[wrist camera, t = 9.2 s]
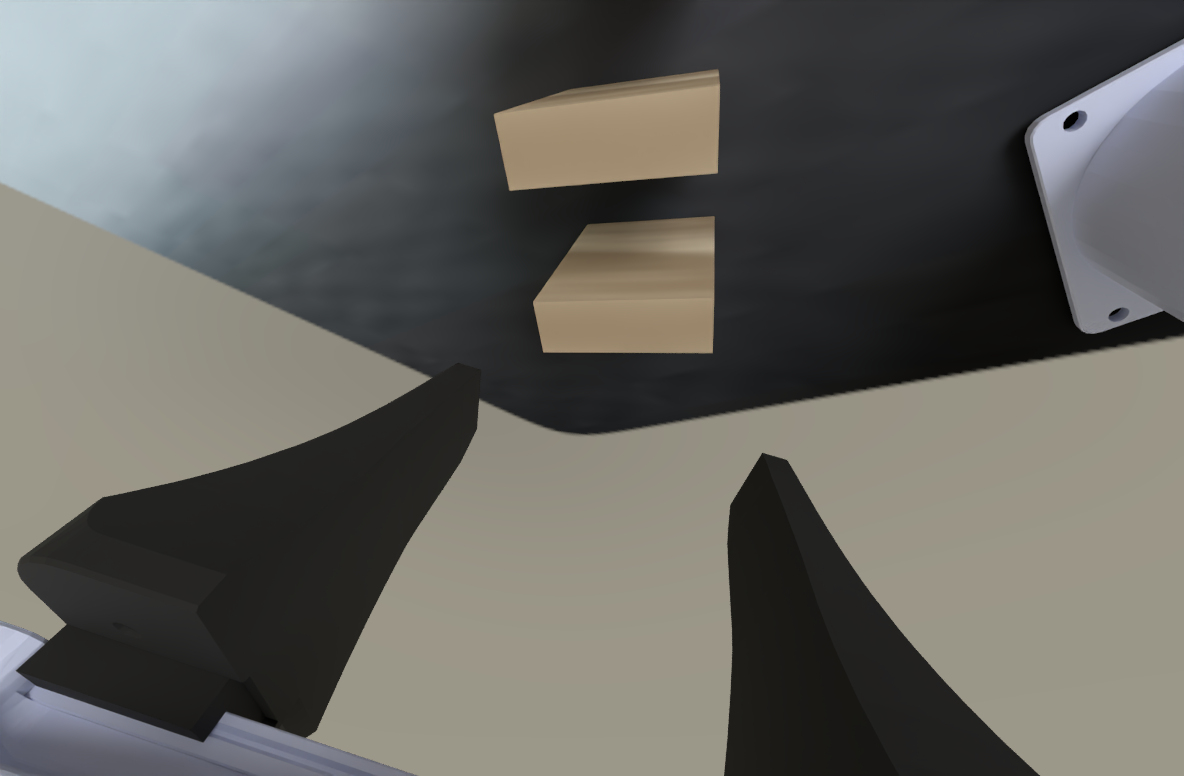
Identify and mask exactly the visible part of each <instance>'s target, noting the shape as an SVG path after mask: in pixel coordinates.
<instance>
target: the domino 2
mask: <svg viewBox="0 0 1184 776" xmlns="http://www.w3.org/2000/svg"><path fill="white" fill-rule="evenodd" d="M533 305H534V309H535V314H536V319H537V324H538V329H539V333H540V338H541V343H542V348H543V352H580V353H713V321H714V216H712V217H696V218H680V219H664V220H648V221H632V222H617V223H601V224H587V226H586V227H585V229H584V230H583V232H582V233H581V234H580V236H579V237H578V239H577V240H576V242H575V243H574V244H573V246H572V247H571V249H570V250H569V252H568V253H567V254H566V256H565V257H564V259H563V260H562V262H561V263H560V264H559V266H558V267H557V269H556V270H555V272H554V273H553V274H552V276H551V277H550V279H549V280H548V281H547V283H546V284H545V286H544V287H543V289H542V290H541V291H540V293H539V294H538V296H537V297H536V299H535V300H534V301H533Z"/></svg>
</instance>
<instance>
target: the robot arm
mask: <svg viewBox="0 0 1184 776" xmlns="http://www.w3.org/2000/svg"><path fill="white" fill-rule="evenodd" d="M1076 111H1078V113H1079V116H1078V119H1077V121H1076V122H1075V124H1074V125H1072V126H1071V127H1070V128H1068V129H1065V130H1064V129H1063V122H1064V121H1065V119H1066V118H1067V117H1068V116H1069V115H1070V114H1072V113H1073V112H1076ZM1025 145H1026V148H1027V152H1028V156H1029V159H1030V163H1031V167H1032V170H1033V174H1034V178H1035V181H1036V185H1037V189H1038V192H1039V196H1040V199H1041V203H1042V207H1043V210H1044V214H1045V218H1046V221H1047V225H1048V229H1049V232H1050V236H1051V240H1052V243H1053V247H1054V251H1055V254H1056V258H1057V262H1058V265H1059V269H1060V272H1061V276H1062V280H1063V283H1064V287H1065V291H1066V294H1067V298H1068V302H1069V305H1070V309H1071V313H1072V316H1073V320H1074V323H1075V325H1076V326H1077V327H1078V328H1079V329H1080V330H1081V331H1083V332H1085V333H1091V334H1094V333H1099V332H1103V331H1106V330H1109V329H1112V328H1114V327H1117V326H1120V325H1123V324H1126V323H1129V322H1132V321H1135V320H1138V319H1141V318H1144V317H1147V316H1150V315H1152V314H1155V313H1158V312H1161V311H1166V312H1167V313H1169V314H1171V315H1172V316H1174V317H1176V318H1177V319H1179V320H1181V321H1182V322H1184V39H1182V40H1181V41H1179V42H1177V43H1175V44H1173V45H1171V46H1169V47H1168V48H1166V49H1164V50H1162V51H1160V52H1158V53H1156V54H1155V55H1153V56H1151V57H1149V58H1147V59H1145V60H1143V61H1142V62H1140V63H1138V64H1136V65H1134V66H1132V67H1130V68H1129V69H1127V70H1125V71H1123V72H1121V73H1119V74H1117V75H1116V76H1114V77H1112V78H1110V79H1108V80H1106V81H1105V82H1103V83H1101V84H1099V85H1097V86H1095V87H1093V88H1092V89H1090V90H1088V91H1086V92H1084V93H1082V94H1080V95H1079V96H1077V97H1075V98H1073V99H1071V100H1069V101H1067V102H1066V103H1064V104H1062V105H1060V106H1058V107H1056V108H1054V109H1053V110H1051V111H1049V112H1047V113H1045V114H1043V115H1042V116H1040V117H1039V118H1037V119H1036V120H1035V121H1033V123H1032V124H1031V125H1030V126H1029V127H1028V129H1027V131H1026V134H1025ZM1117 308H1121V310H1120V311H1119V312H1118V313H1116V314H1114V315H1112V316H1109V314H1110V313H1111V312H1112V311H1114V310H1116V309H1117ZM480 376H481V370H480V369H477V368H473V367H470V366H466V365H463V364H460V363H457V364H455V365H453V366H452V367H450V368H448V369H446V370H445V371H443V372H441V373H440V374H438V375H436V376H435V377H433V378H431V379H430V380H428V381H426V382H425V383H423V384H422V385H420V386H418V387H416V388H415V389H413V390H411V391H410V392H408V393H406V394H404V395H403V396H401V397H399V398H397V399H395V400H394V401H392V402H391V403H388V404H387V405H385V406H383V407H381V408H379V409H377V410H375V411H373V412H371V413H369V414H367V415H365V416H363V417H361V418H359V419H357V420H355V421H353V422H352V423H349V424H347V425H345V426H343V427H341V428H338V429H337V430H334V431H332V432H329V433H327V434H324V435H322V436H320V437H317V438H315V439H312V440H310V441H307V442H305V443H302V444H300V445H297V446H294V447H291V448H288V449H285V450H282V451H279V452H276V453H274V454H271V455H268V456H265V457H262V458H259V459H256V460H253V461H250V462H247V463H244V464H240V465H237V466H234V467H230V468H227V469H223V470H220V471H216V472H212V473H209V474H205V475H201V476H197V477H194V478H190V479H185V480H182V481H178V482H174V483H169V484H164V485H159V486H155V487H151V488H146V489H141V490H137V491H132V492H127V493H123V494H118V495H113V496H108V497H103V498H101V499H100V500H98V501H97V502H96V503H94V504H93V505H92V506H90V507H89V508H87V509H86V510H85V511H84V512H82V513H81V514H79V515H78V516H77V517H75V518H74V519H73V520H71V521H70V522H69V523H67V524H66V525H65V526H63V527H62V528H61V529H59V530H58V531H56V532H55V533H54V534H53V535H51V536H50V537H48V538H47V539H46V540H44V541H43V542H42V543H40V544H39V545H38V546H36V547H35V548H33V549H32V550H31V551H30V552H28V553H27V554H26V555H24V556H23V557H21V559H20V560H19V563H18V568H17V570H18V573H19V576H20V578H21V580H22V581H23V582H24V583H25V584H26V585H27V586H28V587H29V588H30V590H31V591H33V592H34V593H35V594H36V595H37V596H38V597H39V598H40V599H41V600H42V601H43V602H44V603H45V604H46V605H47V606H48V607H49V608H50V609H51V610H52V611H54V612H55V613H56V614H57V615H58V616H59V617H60V618H61V619H62V620H63V621H64V622H65V623H66V624H67V625H66V626H65V627H64V628H62V629H61V630H60V631H59V632H58V633H57V634H56V635H55V636H54V637H53V638H51V639H50V640H49V641H48V640H47V639H45V638H43V637H41V636H40V635H38V634H36V633H34V632H31V631H28V630H26V629H24V628H20V627H17V626H15V625H12V624H9V623H6V622H3V621H0V776H416V775H414V774H411V773H407V772H405V771H402V770H399V769H396V768H393V767H390V766H387V765H384V764H381V763H378V762H375V761H372V760H369V759H366V758H363V757H360V756H357V755H354V754H351V753H348V752H345V751H342V750H339V749H336V748H333V747H330V746H327V745H324V744H322V743H318V742H315V741H313V740H310V739H307V738H306V737H308V736H309V735H311V734H312V733H314V732H315V731H316V730H317V728H318V726H319V723H320V721H321V719H322V716H323V714H324V712H325V710H326V707H327V705H328V703H329V701H330V699H331V696H332V694H333V692H334V690H335V688H336V685H337V683H338V681H339V679H340V677H341V675H342V672H343V670H344V668H345V666H346V664H347V662H348V659H349V657H350V655H351V653H352V651H353V649H354V647H355V645H356V643H357V641H358V639H359V636H360V635H361V632H362V630H363V628H364V626H365V624H366V622H367V620H368V618H369V616H370V614H371V612H372V610H373V608H374V606H375V604H376V602H377V600H378V598H379V596H380V594H381V592H382V590H383V588H384V586H385V584H386V583H387V581H388V579H389V577H390V575H391V573H392V571H393V569H394V567H395V565H396V564H397V562H398V560H399V558H400V556H401V554H402V552H403V550H404V548H405V547H406V545H407V543H408V542H409V540H410V538H411V537H412V535H413V533H414V532H415V530H416V529H417V527H418V526H419V524H420V523H421V521H422V520H423V518H424V517H425V515H426V514H427V512H428V511H429V509H430V508H431V506H432V504H433V503H434V502H435V500H436V499H437V497H438V495H439V494H440V493H441V491H442V490H443V488H444V486H445V485H446V484H447V482H448V480H449V479H450V478H451V476H452V474H453V473H454V471H455V470H456V468H457V467H458V465H459V464H460V462H461V460H462V458H463V456H464V454H465V452H466V450H467V448H468V446H469V444H470V442H471V440H472V438H473V436H474V434H475V432H476V430H477V418H478V405H479V391H480ZM727 545H728V565H729V585H730V602H731V618H732V619H731V620H732V651H733V652H732V674H731V695H730V709H729V724H728V739H727V751H726V762H725V772H724V776H1040V775H1038V774H1037V773H1036V772H1035V771H1034V770H1033V769H1032V768H1031V767H1030V766H1029V765H1028V764H1027V763H1026V762H1024V761H1023V760H1022V759H1021V758H1020V757H1019V756H1018V755H1017V754H1016V753H1015V752H1014V751H1013V750H1012V749H1011V748H1009V747H1008V746H1007V745H1006V744H1005V743H1004V742H1003V741H1002V740H1001V739H1000V738H999V737H998V736H997V735H996V734H995V733H994V732H993V731H992V730H991V729H990V728H989V727H988V726H987V725H986V724H985V723H984V722H983V721H982V720H981V719H980V718H979V717H978V716H977V715H976V714H975V713H974V712H973V711H972V710H971V709H970V708H969V707H968V706H967V705H966V704H965V703H964V702H963V701H962V700H961V698H960V697H959V696H958V695H957V694H956V693H955V692H954V691H953V690H952V689H951V688H950V687H949V686H948V685H947V684H946V683H945V682H944V680H943V679H942V678H941V677H940V676H939V675H938V674H937V673H936V671H935V670H934V669H933V668H932V667H931V666H930V665H929V664H928V662H927V661H926V660H925V659H924V658H923V657H922V656H921V654H920V653H919V652H918V651H917V650H916V649H915V648H914V647H913V645H912V644H911V643H910V642H909V641H908V639H907V638H906V637H905V636H904V635H903V634H902V632H901V631H900V630H899V629H898V628H897V626H896V625H895V624H894V622H893V621H892V620H891V619H890V617H889V616H888V615H887V613H886V612H885V611H884V610H883V608H882V607H881V606H880V604H879V603H878V602H877V601H876V599H875V598H874V597H873V595H872V594H871V593H870V591H869V590H868V589H867V587H866V586H865V585H864V583H863V582H862V580H861V579H860V577H859V576H858V574H857V573H856V572H855V570H854V569H853V567H852V566H851V564H850V563H849V561H848V560H847V558H846V557H845V556H844V554H843V552H842V551H841V549H840V548H839V547H838V545H837V543H836V542H835V540H834V538H833V537H832V535H831V534H830V532H829V530H828V529H827V527H826V526H825V524H824V522H823V521H822V519H821V517H820V516H819V514H818V512H817V511H816V509H815V507H814V505H813V504H812V502H811V500H810V499H809V497H808V495H807V494H806V492H805V490H804V488H803V486H802V485H801V483H800V481H799V479H798V478H797V476H796V475H795V473H794V471H793V469H792V468H791V466H790V464H789V463H788V461H787V460H785V459H781V458H778V457H775V456H771V455H767V454H765V453H762V454H761V456H760V458H759V460H758V461H757V463H756V464H755V466H754V467H753V469H752V471H751V472H750V474H749V476H748V477H747V479H746V480H745V482H744V484H743V485H742V487H741V489H740V490H739V492H738V494H737V495H736V497H735V498H734V500H733V502H732V503H731V505H730V515H729V527H728V543H727Z"/></svg>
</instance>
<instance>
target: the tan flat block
mask: <svg viewBox="0 0 1184 776" xmlns="http://www.w3.org/2000/svg"><path fill="white" fill-rule="evenodd" d="M719 103H720V81H719V72H718V69H716V70H708V71H701V72H693V73H686V74H679V75H671V76H664V77H656V78H649V79H641V80H634V81H627V82H619V83H612V84H604V85H597V86H589V87H582V88H575V89H569V90H566V91H563V92H560V93H557V94H554V95H551V96H548V97H545V98H542V99H538V100H535V101H532V102H529V103H526V104H523V105H520V106H517V107H514V108H511V109H508V110H504V111H501V112H498V113H495V114H494V118H495V123H496V128H497V132H498V137H499V142H500V147H501V151H502V156H503V161H504V166H505V171H506V175H507V180H508V185H509V190H510V191H511V190H523V189H535V188H547V187H559V186H571V185H583V184H595V183H607V182H619V181H630V180H642V179H654V178H666V177H678V176H690V175H702V174H714V173H718V139H719Z"/></svg>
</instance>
